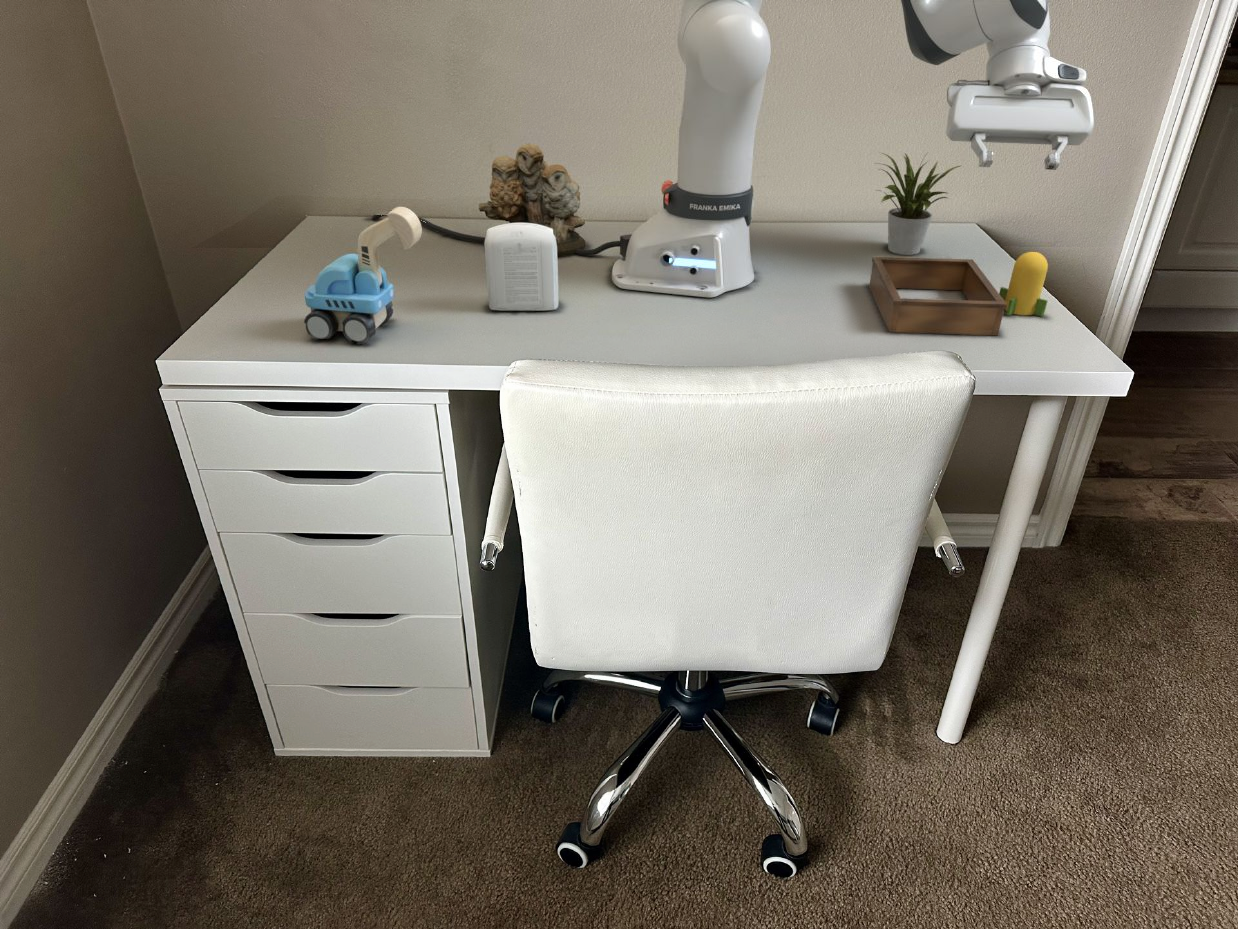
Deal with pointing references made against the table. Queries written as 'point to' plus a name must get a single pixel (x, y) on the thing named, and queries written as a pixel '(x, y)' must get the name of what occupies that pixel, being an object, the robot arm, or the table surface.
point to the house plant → (910, 209)
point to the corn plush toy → (1026, 286)
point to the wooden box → (933, 314)
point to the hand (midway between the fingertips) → (1018, 166)
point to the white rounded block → (521, 267)
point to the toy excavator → (359, 283)
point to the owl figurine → (536, 196)
